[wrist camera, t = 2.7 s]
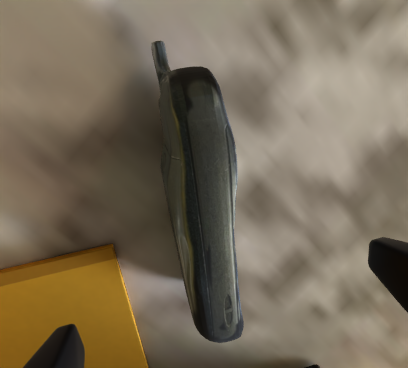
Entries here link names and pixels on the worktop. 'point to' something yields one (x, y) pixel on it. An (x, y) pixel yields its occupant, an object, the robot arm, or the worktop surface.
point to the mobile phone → (201, 193)
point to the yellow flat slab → (69, 309)
